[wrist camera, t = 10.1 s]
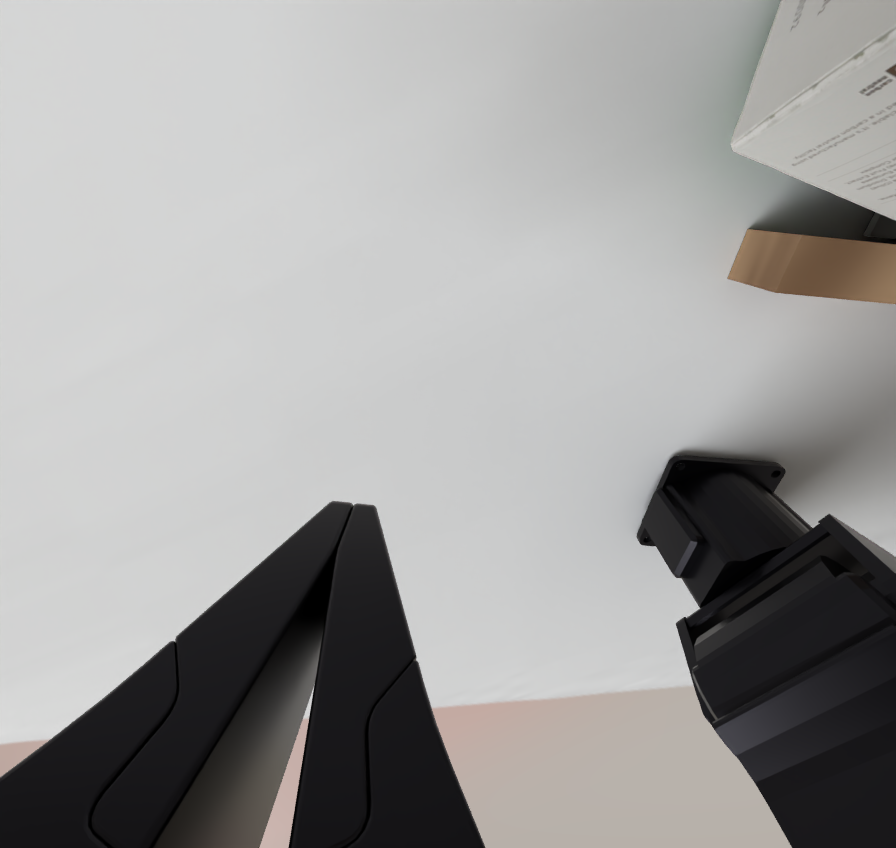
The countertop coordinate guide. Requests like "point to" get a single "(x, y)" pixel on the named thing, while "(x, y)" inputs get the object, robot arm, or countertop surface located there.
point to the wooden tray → (821, 264)
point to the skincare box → (827, 100)
